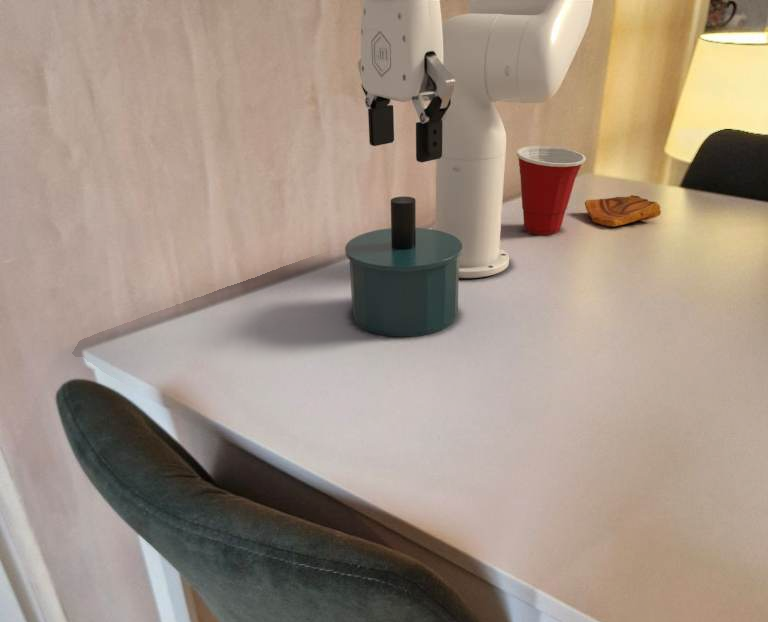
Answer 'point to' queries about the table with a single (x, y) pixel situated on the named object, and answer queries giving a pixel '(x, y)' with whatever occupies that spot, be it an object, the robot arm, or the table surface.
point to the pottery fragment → (621, 210)
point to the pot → (405, 299)
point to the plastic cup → (546, 186)
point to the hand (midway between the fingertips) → (404, 151)
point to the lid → (403, 243)
